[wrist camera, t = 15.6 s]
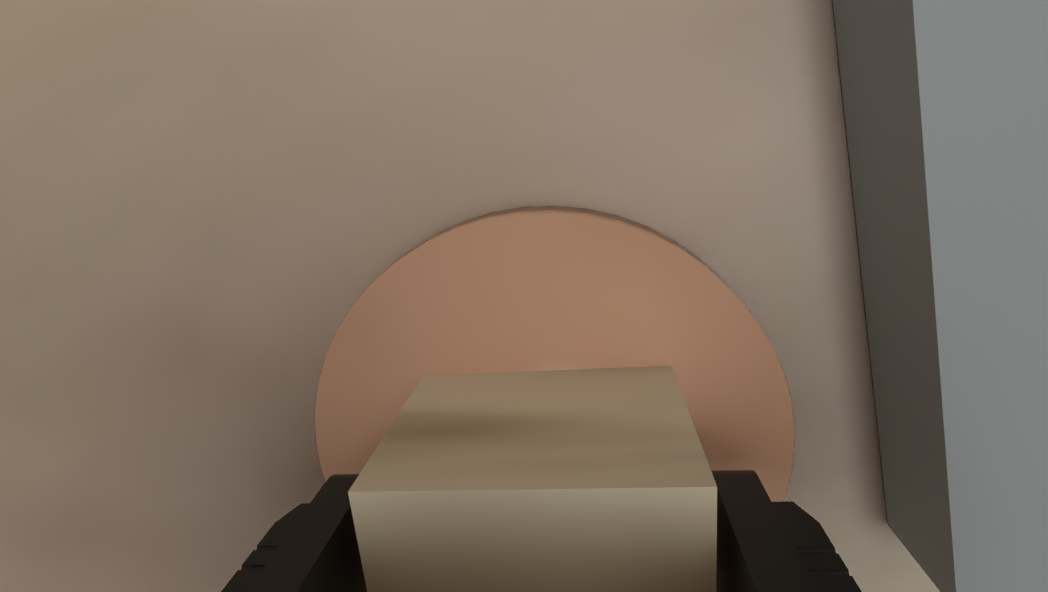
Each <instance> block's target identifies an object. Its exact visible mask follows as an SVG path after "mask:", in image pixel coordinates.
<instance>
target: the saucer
mask: <svg viewBox="0 0 1048 592" xmlns="http://www.w3.org/2000/svg"><path fill="white" fill-rule="evenodd" d="M647 366H672V368H673V371H674V374H675V376H676V379H677V382H678V384H679V387H680V390H681V392H682V395H683V397H684V400H685V403H686V405H687V408H688V411H689V413H690V416H691V419H692V421H693V424H694V427H695V429H696V432H697V435H698V437H699V440H700V442H701V445H702V448H703V450H704V453H705V456H706V458H707V461H708V464H709V466H710V469H711V471H716V470H754V471H755V472H756V473H757V475H758V477H759V479H760V481H761V483H762V485H763V486H764V488H765V490H766V492H767V494H768V496H769V498H770V500H771V502H783V501H784V499H785V496H786V493H787V489H788V485H789V481H790V476H791V472H792V468H793V457H794V445H795V431H794V416H793V407H792V403H791V398H790V394H789V389H788V385H787V380H786V378H785V375H784V373H783V370H782V367H781V365H780V362H779V360H778V357H777V355H776V352H775V350H774V348H773V347H772V345H771V343H770V341H769V340H768V338H767V336H766V334H765V333H764V331H763V329H762V327H761V326H760V324H759V322H758V321H757V320H756V319H755V317H754V316H753V315H752V314H751V312H750V311H749V310H748V309H747V307H746V306H745V305H744V303H743V302H742V301H741V300H740V298H739V297H738V296H737V295H736V294H735V293H734V292H733V291H732V290H731V289H730V288H729V287H728V286H727V285H726V284H725V283H724V282H723V281H722V280H721V279H720V278H719V277H718V276H717V275H716V274H715V273H714V272H713V271H712V270H711V269H710V268H709V267H708V266H707V265H706V264H705V263H704V262H702V261H701V260H700V259H699V258H697V257H696V256H695V255H693V254H692V253H690V252H689V251H688V250H686V249H685V248H683V247H682V246H681V245H679V244H678V243H676V242H675V241H673V240H671V239H669V238H667V237H665V236H664V235H662V234H660V233H658V232H656V231H654V230H652V229H650V228H648V227H646V226H643V225H641V224H638V223H635V222H633V221H630V220H627V219H624V218H622V217H619V216H616V215H611V214H607V213H602V212H598V211H593V210H589V209H582V208H571V207H560V206H543V207H522V208H516V209H511V210H505V211H499V212H493V213H490V214H487V215H483V216H480V217H477V218H474V219H471V220H468V221H465V222H462V223H460V224H458V225H456V226H453V227H451V228H449V229H447V230H445V231H443V232H441V233H439V234H437V235H435V236H433V237H432V238H430V239H429V240H427V241H426V242H424V243H423V244H421V245H420V246H418V247H417V248H415V249H414V250H412V251H411V252H409V253H408V254H406V255H405V256H404V257H402V258H401V259H399V260H398V261H397V262H395V263H394V264H393V265H392V266H390V267H389V268H388V269H387V270H386V271H385V272H384V273H383V274H381V275H380V276H379V277H378V278H377V279H376V280H375V281H373V282H372V283H371V284H370V285H369V287H368V288H367V289H366V290H365V291H364V293H363V294H362V295H361V296H360V297H359V299H358V300H357V301H356V302H355V303H354V304H353V306H352V307H351V309H350V310H349V312H348V313H347V315H346V317H345V318H344V320H343V321H342V323H341V325H340V326H339V328H338V329H337V331H336V333H335V336H334V338H333V340H332V343H331V345H330V347H329V350H328V352H327V354H326V357H325V360H324V364H323V367H322V371H321V375H320V379H319V382H318V389H317V398H316V407H315V430H316V443H317V449H318V455H319V460H320V466H321V469H322V472H323V475H324V478H325V482H326V481H327V480H328V478H329V477H330V476H332V475H334V474H360V472H361V471H362V469H363V468H364V466H365V465H366V463H367V462H368V460H369V458H370V457H371V455H372V454H373V452H374V451H375V449H376V448H377V446H378V445H379V443H380V442H381V440H382V438H383V437H384V435H385V434H386V432H387V431H388V429H389V428H390V426H391V425H392V423H393V421H394V420H395V418H396V417H397V415H398V414H399V412H400V411H401V409H402V408H403V406H404V404H405V403H406V401H407V400H408V398H409V397H410V395H411V394H412V392H413V391H414V389H415V388H416V386H417V384H418V383H419V381H420V380H421V378H422V377H423V376H425V375H450V374H475V373H499V372H524V371H548V370H573V369H598V368H622V367H647Z"/></svg>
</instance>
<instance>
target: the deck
mask: <svg viewBox="0 0 1048 592" xmlns="http://www.w3.org/2000/svg"><path fill="white" fill-rule="evenodd" d="M832 1H833V10H834V20H835V29H836V39H837V48H838V58H839V67H840V76H841V86H842V95H843V105H844V114H845V124H846V133H847V143H848V152H849V161H850V171H851V180H852V190H853V199H854V209H855V218H856V227H857V237H858V246H859V256H860V265H861V275H862V284H863V294H864V303H865V312H866V322H867V331H868V341H869V350H870V360H871V369H872V378H873V388H874V397H875V407H876V416H877V426H878V435H879V445H880V454H881V463H882V473H883V482H884V492H885V501H886V511H887V520H888V526H889V527H890V528H891V529H892V531H893V532H894V533H895V534H896V536H897V537H898V538H899V540H900V541H901V542H902V543H903V545H904V546H905V547H906V548H907V550H908V551H909V552H910V554H911V555H912V556H913V557H914V559H915V560H916V561H917V562H918V564H919V565H920V566H921V568H922V569H923V570H924V571H925V573H926V574H927V575H928V576H929V578H930V579H931V580H932V582H933V583H934V584H935V585H936V587H937V588H938V589H939V590H940V592H1048V0H832Z"/></svg>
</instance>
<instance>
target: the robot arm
mask: <svg viewBox="0 0 1048 592" xmlns="http://www.w3.org/2000/svg"><path fill="white" fill-rule="evenodd" d="M711 472H712V474H713V477H714V480H715V482H716V485H717V570H716V592H861V590H860V588H859V587H858V585H857V584H856V582H855V580H854V579H853V577H852V576H849V572H848V569H847V567H846V566H845V564H844V562H843V561H842V559H841V557H840V556H839V554H836V552H835V548H834V546H833V544H832V543H831V541H830V540H829V538H828V536H827V535H826V533H825V531H824V530H823V528H822V527H821V525H820V523H819V522H818V521H816V520H815V519H814V518H813V517H811V516H810V515H809V514H808V513H806V512H805V511H804V510H803V509H801V508H800V507H799V506H797V505H796V504H795V503H794V502H771V500H770V498H769V496H768V494H767V492H766V490H765V488H764V486H763V485H762V483H761V481H760V479H759V477H758V475H757V473H756V472H755V471H754V470H716V471H711ZM358 475H359V474H334V475H332V476H330V477H329V478H328V480H327V481H326V482H325V484H324V485H323V487H322V488H321V489H320V491H319V492H318V493H317V495H316V496H315V498H314V499H313V500H312V502H311V503H310V504H300V505H299V506H297V507H296V508H295V509H293V510H292V511H290V512H289V513H288V514H286V515H285V516H284V517H282V518H281V519H280V520H278V521H277V522H276V523H275V524H274V525H273V526H272V527H271V529H270V530H269V531H268V532H267V534H266V535H265V536H264V538H263V539H262V540H261V541H260V543H259V544H258V545H257V550H253V552H252V553H251V554H250V556H249V557H248V558H247V559H246V561H245V562H244V563H243V565H242V569H241V570H238V571H237V572H236V573H235V575H234V576H233V577H232V579H231V580H230V581H229V582H228V584H227V585H226V586H225V588H224V589H223V590H222V591H221V592H367V588H366V583H365V578H364V573H363V568H362V563H361V557H360V552H359V547H358V542H357V537H356V532H355V527H354V521H353V516H352V511H351V506H350V501H349V496H348V491H349V489H350V488H351V486H352V485H353V483H354V482H355V480H356V479H357V477H358Z"/></svg>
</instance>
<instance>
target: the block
mask: <svg viewBox="0 0 1048 592" xmlns="http://www.w3.org/2000/svg"><path fill="white" fill-rule="evenodd" d="M348 496H349V501H350V506H351V511H352V516H353V521H354V527H355V532H356V537H357V542H358V547H359V552H360V557H361V563H362V568H363V573H364V578H365V583H366V588H367V592H716V570H717V485H716V482H715V480H714V477H713V474H712V472H711V469H710V466H709V464H708V461H707V458H706V456H705V453H704V450H703V448H702V445H701V442H700V440H699V437H698V435H697V432H696V429H695V427H694V424H693V421H692V419H691V416H690V413H689V411H688V408H687V405H686V403H685V400H684V397H683V395H682V392H681V390H680V387H679V384H678V382H677V379H676V376H675V374H674V371H673V368H672V366H647V367H622V368H598V369H573V370H548V371H524V372H499V373H475V374H450V375H425V376H423V377H422V378H421V380H420V381H419V383H418V384H417V386H416V388H415V389H414V391H413V392H412V394H411V395H410V397H409V398H408V400H407V401H406V403H405V404H404V406H403V408H402V409H401V411H400V412H399V414H398V415H397V417H396V418H395V420H394V421H393V423H392V425H391V426H390V428H389V429H388V431H387V432H386V434H385V435H384V437H383V438H382V440H381V442H380V443H379V445H378V446H377V448H376V449H375V451H374V452H373V454H372V455H371V457H370V458H369V460H368V462H367V463H366V465H365V466H364V468H363V469H362V471H361V472H360V474H359V475H358V477H357V479H356V480H355V482H354V483H353V485H352V486H351V488H350V489H349V491H348Z"/></svg>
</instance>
